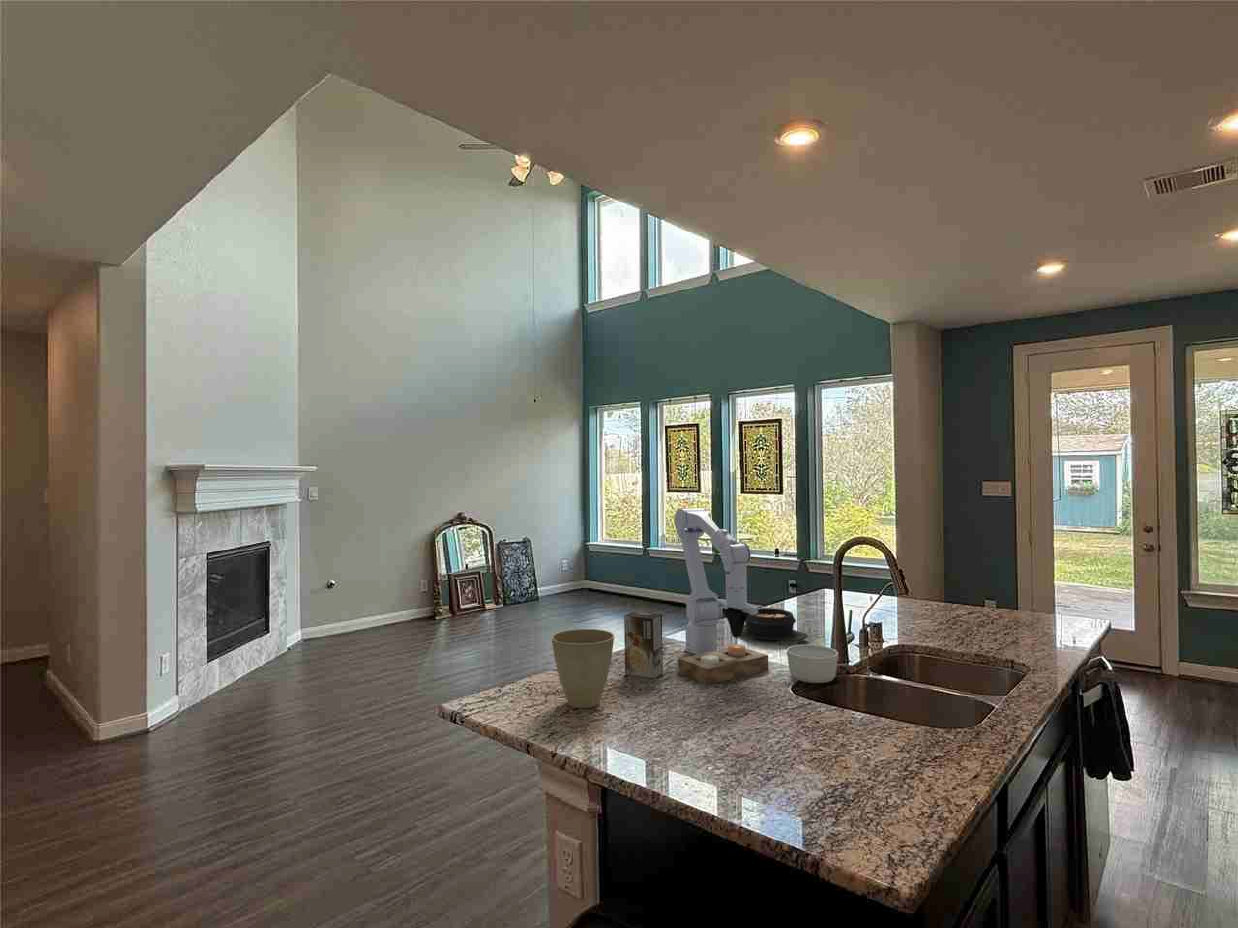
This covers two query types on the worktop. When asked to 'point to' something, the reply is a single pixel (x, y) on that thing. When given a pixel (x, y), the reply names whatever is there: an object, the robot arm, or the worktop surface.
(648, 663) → the coffee box
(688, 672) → the button box
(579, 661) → the plant pot
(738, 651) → the terracotta button
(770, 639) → the casserole
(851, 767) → the worktop surface
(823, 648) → the ramekin
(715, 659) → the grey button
